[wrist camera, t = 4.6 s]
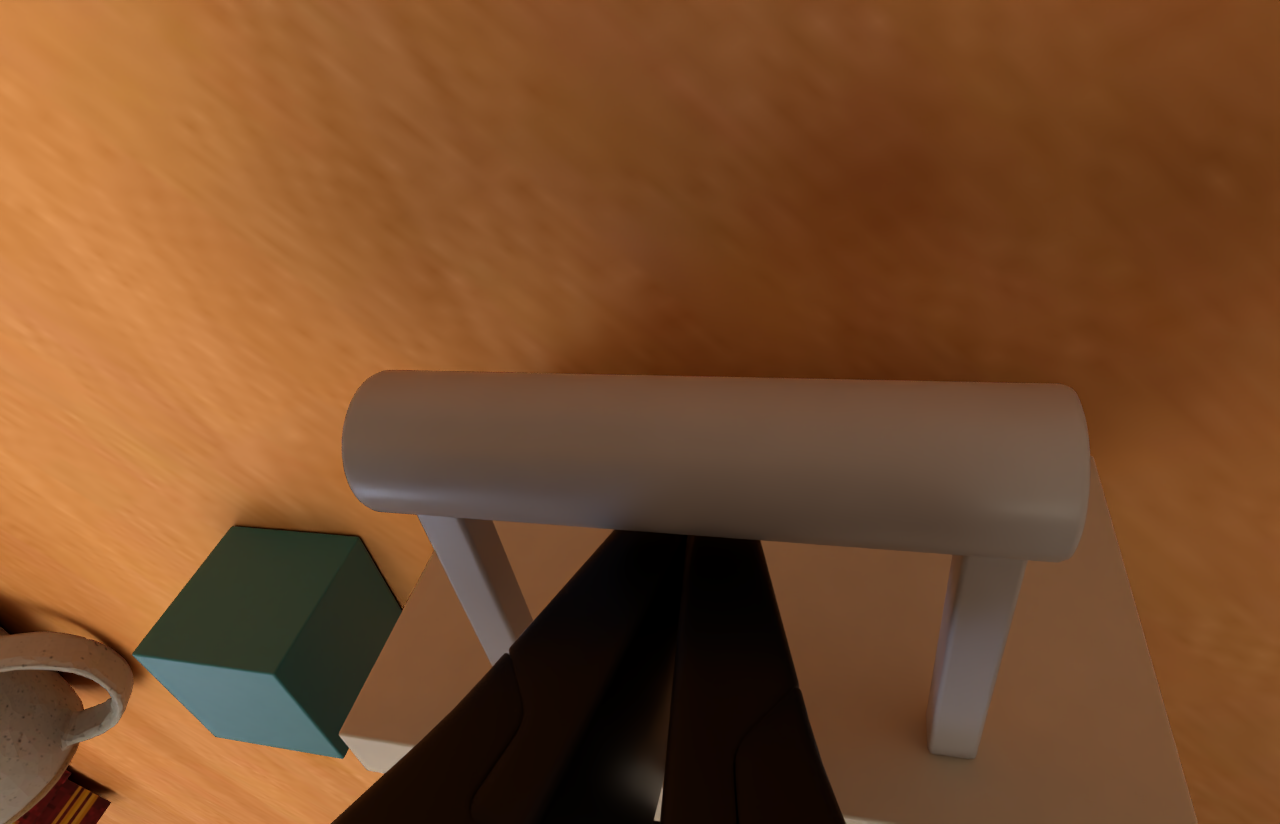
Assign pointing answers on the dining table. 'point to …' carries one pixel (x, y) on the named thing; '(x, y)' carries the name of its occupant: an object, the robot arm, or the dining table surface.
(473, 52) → the dining table surface
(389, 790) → the robot arm
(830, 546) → the drawer
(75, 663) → the ceramic mug
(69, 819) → the decorative book
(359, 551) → the block
